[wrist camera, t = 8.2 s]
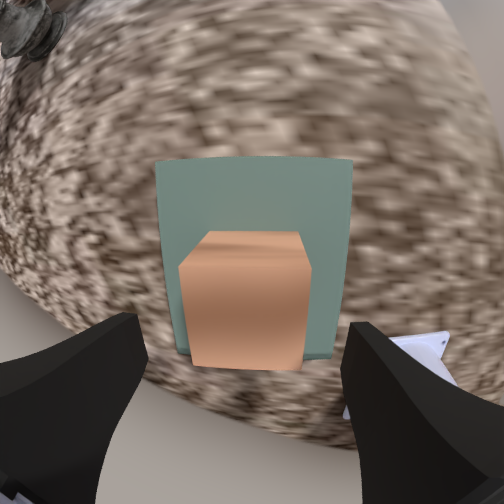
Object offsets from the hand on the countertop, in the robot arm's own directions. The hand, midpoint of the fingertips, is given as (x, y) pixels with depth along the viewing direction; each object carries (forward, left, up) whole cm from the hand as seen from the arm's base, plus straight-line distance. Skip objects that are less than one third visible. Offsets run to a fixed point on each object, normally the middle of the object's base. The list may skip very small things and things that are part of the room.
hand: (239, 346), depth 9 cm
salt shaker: (+20, +18, -9) cm, 28 cm away
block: (0, 0, -6) cm, 6 cm away
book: (0, 0, -9) cm, 9 cm away
